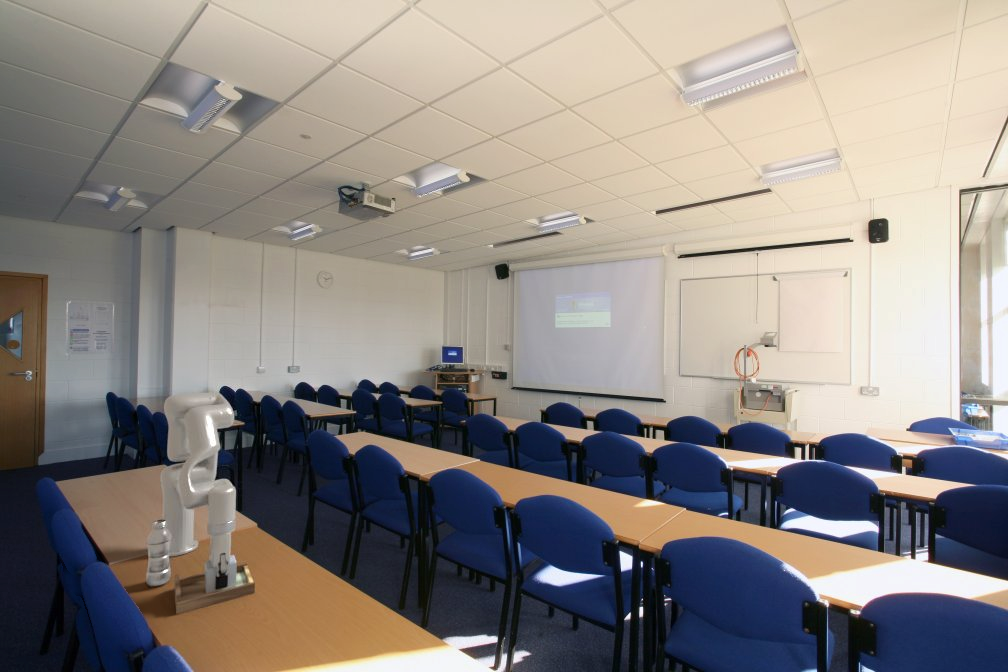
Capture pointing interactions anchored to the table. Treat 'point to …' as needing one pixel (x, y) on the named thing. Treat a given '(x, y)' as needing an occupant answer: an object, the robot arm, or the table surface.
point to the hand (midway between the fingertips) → (220, 582)
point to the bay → (195, 597)
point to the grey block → (212, 573)
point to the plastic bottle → (158, 554)
